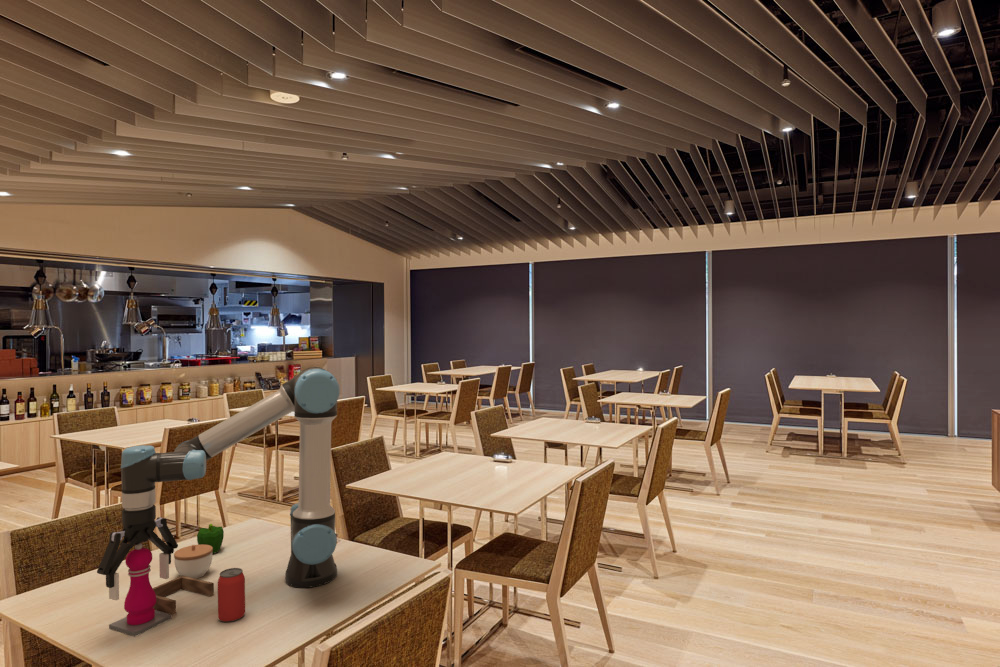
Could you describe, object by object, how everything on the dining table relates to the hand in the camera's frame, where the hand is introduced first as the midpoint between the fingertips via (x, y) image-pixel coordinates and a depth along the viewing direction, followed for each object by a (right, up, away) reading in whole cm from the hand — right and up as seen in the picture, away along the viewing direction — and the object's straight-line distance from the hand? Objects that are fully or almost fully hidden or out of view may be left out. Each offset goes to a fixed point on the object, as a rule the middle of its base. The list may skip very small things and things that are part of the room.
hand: (140, 588), depth 156 cm
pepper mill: (0, -8, 0) cm, 8 cm away
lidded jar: (-2, -9, +30) cm, 32 cm away
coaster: (0, -9, 0) cm, 9 cm away
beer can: (+22, -9, +3) cm, 24 cm away
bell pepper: (-6, -9, +50) cm, 51 cm away
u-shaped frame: (+3, -9, +13) cm, 16 cm away
